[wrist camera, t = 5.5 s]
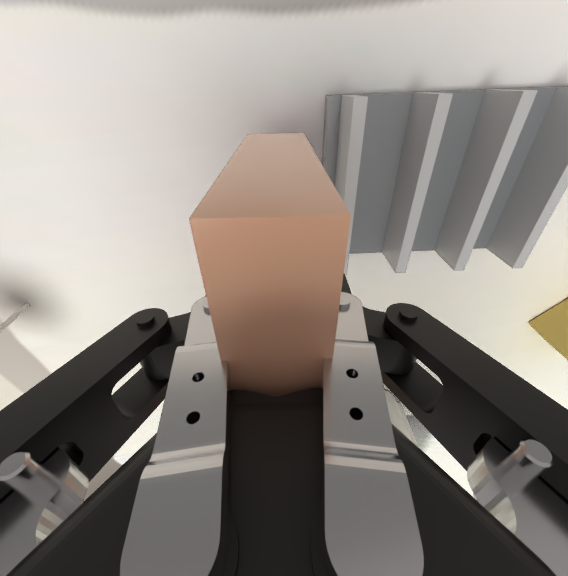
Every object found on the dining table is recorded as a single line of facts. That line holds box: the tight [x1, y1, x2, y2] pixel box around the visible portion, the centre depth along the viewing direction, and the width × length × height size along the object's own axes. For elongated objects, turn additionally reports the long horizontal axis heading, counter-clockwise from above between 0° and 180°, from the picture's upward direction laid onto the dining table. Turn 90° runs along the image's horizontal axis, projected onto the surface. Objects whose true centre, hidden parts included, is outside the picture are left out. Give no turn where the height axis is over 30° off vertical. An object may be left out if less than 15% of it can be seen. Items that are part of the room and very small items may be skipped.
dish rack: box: [323, 86, 568, 275], centre depth 21 cm, size 17×12×4 cm
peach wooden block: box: [189, 133, 351, 396], centre depth 11 cm, size 2×10×10 cm, turn 1°
